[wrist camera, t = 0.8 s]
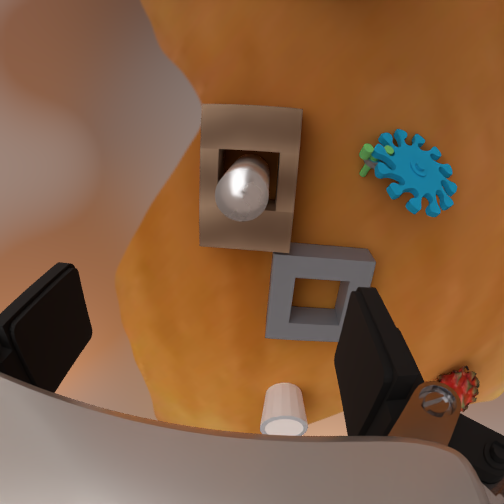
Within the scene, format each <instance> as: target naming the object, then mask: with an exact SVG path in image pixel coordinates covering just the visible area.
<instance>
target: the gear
mask: <svg viewBox="0 0 504 504" xmlns="http://www.w3.org/2000/svg"><path fill="white" fill-rule="evenodd" d="M406 137H407V133H406V132H405V131H403V130H400V129H397V130H396V131H395V133H394V138H395V139H396V141H397V143H398V147H396V146H394V144H393V142H392V140H393V137H392V135H391V134H390V133H383V134H381V135H380V137H379V139H378V140H379V142H380V143H381V144H382V145H383V146H384V147H383V146H382V145H381V144H377V145H376V146H375V148H373V146H372V145H370V144H364V146H363V148H362V149H361V151H360V153H359V156H360V158H362V159H363V160H364V163H365V165H364V166H363V168H362V169H361V171H360V173H359V174H360V176H362V177H365V176H366V174H367V173H368V171H369V170H370V169H371V168H372V169H375V176H376V177H377V178H380V179H382V178H391V179H394V180H396V181H398V182H399V184H397V183H391V184H390V185H389V186H388V187H387V189H386V190H387V193H388V194H389V196H390V197H391V199H397V198H399V197H400V196H401V195H402V194H403V193H404V192H410V193H412V194H413V195H414V197H415V198H411V199H410V200H409V201H408V202H407V203H406V208H407V209H408V210H409V211H410V212H411V213H413V214H416V213H417V212H418V211H419V210H420V209H421V200H422V197H425V198H426V199H427V200H428V201H429V205H428V206H427V207H426V210H425V211H426V214H427V215H428V216H430V217H436V216H438V215H439V214H440V212H441V210H440V207H441V209H442V210H447V209H448V208H450V207H451V206H452V205H453V204H454V203H453V201H452V199H451V198H450V197H451V196H452V195H453V194H454V193H455V192H456V190H457V186H456V184H455V183H453V182H451V181H449V180H447V179H446V178H449V177H450V176H451V175H452V168H451V166H450V165H449V164H440V163H437V162H436V161H434V160H438V159H439V158H440V157H441V153H440V151H439V150H438V149H437V147H432V149H431V150H430V151H423V150H421V149H420V147H421V146H422V145H423V144H424V143H425V139H424V138H422V137H421V136H420V135H418V134H415V136H414V137H413V139H412V145H411V146H409V145H407V144H406V143H405V141H404V140H405V139H406ZM442 186H443V187H444V189H443V187H442ZM444 190H445V191H444ZM445 192H446V193H445ZM436 195H438V197H439V199H440V207H439V206H438V203H437V200H436ZM449 196H450V197H449Z"/></svg>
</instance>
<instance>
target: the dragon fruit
mask: <svg viewBox="0 0 504 504" xmlns="http://www.w3.org/2000/svg"><path fill="white" fill-rule="evenodd" d="M465 367H466V369H467V370H468V371H469V369H468V366H463V367H462V368H461V369H460V370H459V372H458V371H456V370H454V371H452V374H450V375H445V374H444V375H443V376H441V375H440V376H439V377H438V378H439V381H440V380H441V381H440V383H444V384H446V385H448V386H449V387H451V388H452V389H453V390H454V391H455V392H456V393H457V394H458V396H459V398H460V400H461V411H462V412H464V411H465V410H466V409H467V408H468V405H469V403H472V402H475V401H476V399H477V398H475V396H476V395H478V394H479V393H478V389H477V388H478V387H479V385H480V384H479V380H478V378H477V377H476V376H475V375H476V373H475V372H473V371H471V372H467V373H466V372H464V368H465Z"/></svg>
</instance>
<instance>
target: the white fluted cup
mask: <svg viewBox="0 0 504 504" xmlns="http://www.w3.org/2000/svg"><path fill="white" fill-rule="evenodd" d="M307 428H308V424H307V418H306V413H305V408H304V402H303V397H302V392H301V390H300V388H299V387H297V386H296V385H294V384H290V383H279V384H275V385H273V386H271V387H269V389H268V390H267V391H266V396H265V402H264V408H263V414H262V420H261V425H260V431H261V432H262V434H267V435H288V436H302V435H303V434H304V433H305V432H306V431H307Z"/></svg>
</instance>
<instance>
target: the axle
mask: <svg viewBox="0 0 504 504" xmlns="http://www.w3.org/2000/svg"><path fill="white" fill-rule="evenodd" d="M269 179H270V170H269V166H268V164H267V162H266V161H265V160H264V159H263V158H262V157H260V156H258V155H255V154H246V155H243V156H241V157H239V158H238V159H237V160H236V161H235V162H234V163H233V165H232V166H231V167H230V168H229V169H228V171H227V172H226V173H225V174H224V176H223V177H222V178H221V179H220V181H219V182H218V184H217V186H216V190H215V200H216V204H217V206H218V208H219V210H220V211H221V212H222V213H223V214H224V215H225V216H226V217H228V218H230V219H232V220H235V221H250V220H253V219H255V218H257V217H258V216H259V215H260V214H262V212H263V211H264V210H265V208H266V206H267V203H268V198H269Z"/></svg>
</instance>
